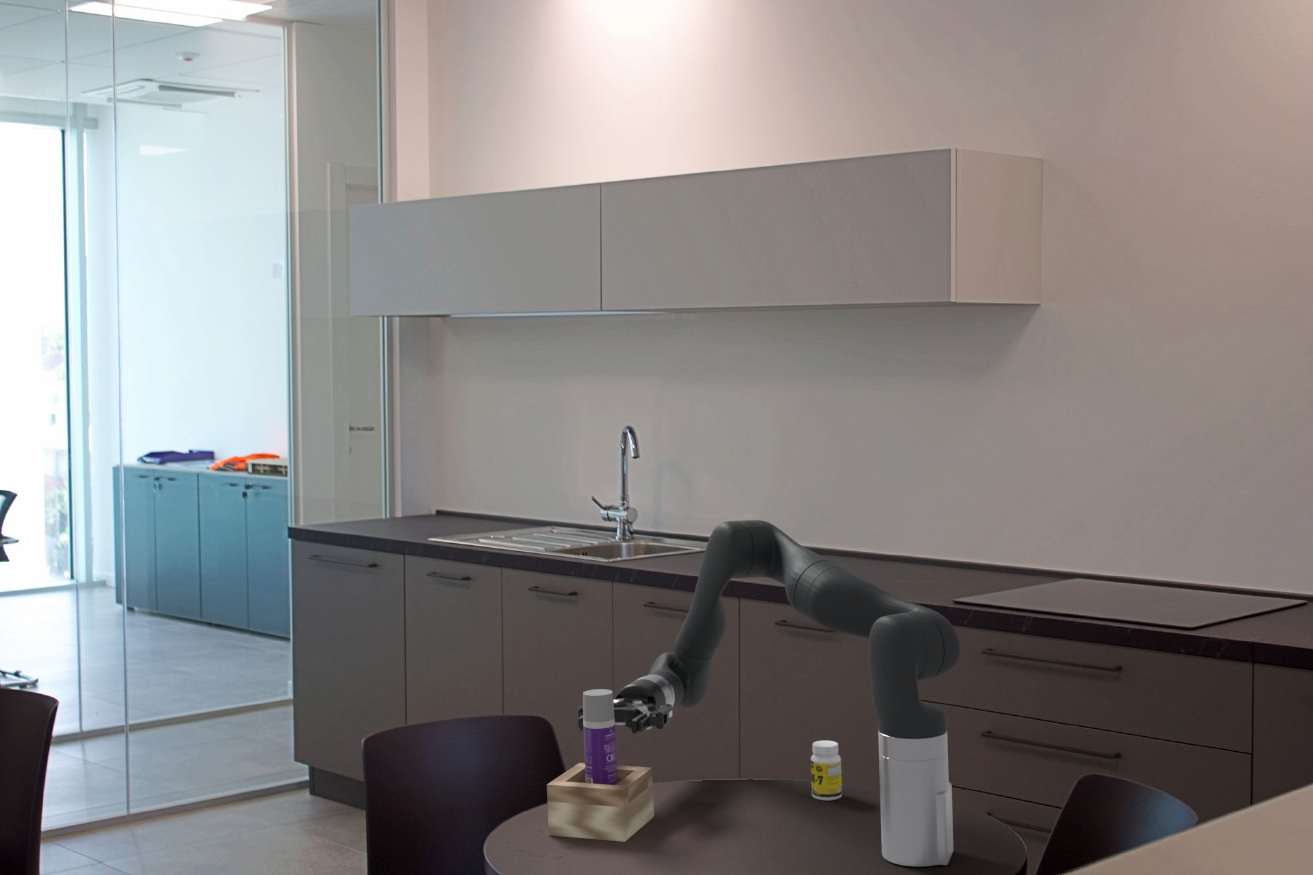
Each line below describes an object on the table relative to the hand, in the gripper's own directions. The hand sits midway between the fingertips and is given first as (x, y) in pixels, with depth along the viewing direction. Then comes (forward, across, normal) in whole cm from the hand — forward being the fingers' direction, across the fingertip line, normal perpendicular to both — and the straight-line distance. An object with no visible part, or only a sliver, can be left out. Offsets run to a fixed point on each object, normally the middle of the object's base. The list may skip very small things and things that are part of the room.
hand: (607, 725), depth 209 cm
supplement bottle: (-18, +29, +14) cm, 37 cm away
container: (+4, 0, +9) cm, 10 cm away
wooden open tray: (+4, 0, +14) cm, 15 cm away
